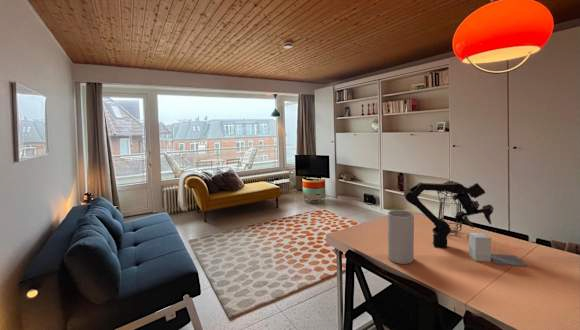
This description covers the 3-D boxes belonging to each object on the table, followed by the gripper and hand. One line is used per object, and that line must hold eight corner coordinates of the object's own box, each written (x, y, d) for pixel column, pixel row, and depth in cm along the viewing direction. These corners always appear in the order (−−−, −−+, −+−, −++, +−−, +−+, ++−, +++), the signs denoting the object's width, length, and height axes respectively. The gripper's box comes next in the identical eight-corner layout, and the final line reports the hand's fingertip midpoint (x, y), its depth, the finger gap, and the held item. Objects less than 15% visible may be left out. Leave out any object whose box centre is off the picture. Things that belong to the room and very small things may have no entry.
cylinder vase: (402, 267, 137) (402, 218, 134) (383, 257, 148) (382, 212, 145) (418, 260, 143) (419, 214, 140) (399, 251, 154) (399, 208, 151)
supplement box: (491, 261, 138) (492, 238, 136) (474, 261, 139) (475, 237, 138) (483, 255, 145) (484, 232, 143) (468, 254, 146) (469, 232, 145)
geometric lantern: (463, 231, 179) (465, 179, 174) (463, 240, 166) (465, 184, 161) (436, 227, 188) (437, 177, 183) (434, 235, 175) (435, 182, 169)
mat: (495, 264, 135) (495, 262, 135) (486, 254, 146) (486, 253, 146) (526, 266, 132) (526, 265, 131) (515, 256, 142) (515, 255, 142)
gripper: (486, 190, 152) (502, 214, 151) (452, 200, 165) (467, 221, 165) (483, 200, 144) (500, 225, 144) (448, 209, 158) (463, 232, 158)
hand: (481, 225), depth 153 cm, fingers open, 9 cm apart
